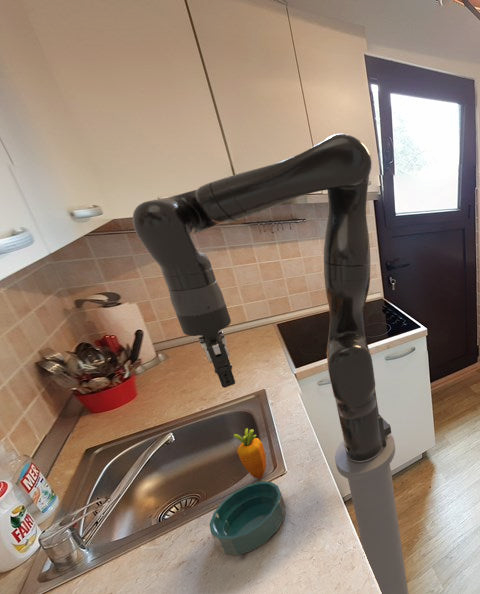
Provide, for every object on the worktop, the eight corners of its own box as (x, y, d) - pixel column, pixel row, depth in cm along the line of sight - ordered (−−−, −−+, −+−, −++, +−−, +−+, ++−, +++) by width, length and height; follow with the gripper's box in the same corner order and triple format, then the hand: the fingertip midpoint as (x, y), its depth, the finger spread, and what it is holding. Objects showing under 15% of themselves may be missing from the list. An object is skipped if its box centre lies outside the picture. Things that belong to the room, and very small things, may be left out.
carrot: (243, 484, 79) (225, 437, 73) (260, 467, 83) (244, 421, 78) (260, 489, 78) (243, 441, 72) (277, 471, 82) (262, 425, 77)
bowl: (277, 488, 78) (272, 471, 76) (293, 526, 70) (287, 508, 68) (214, 524, 70) (206, 506, 68) (223, 571, 62) (214, 553, 60)
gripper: (230, 311, 61) (253, 383, 67) (219, 291, 70) (240, 356, 76) (177, 324, 56) (207, 400, 62) (172, 300, 66) (199, 369, 72)
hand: (225, 376), depth 69 cm, fingers open, 8 cm apart
